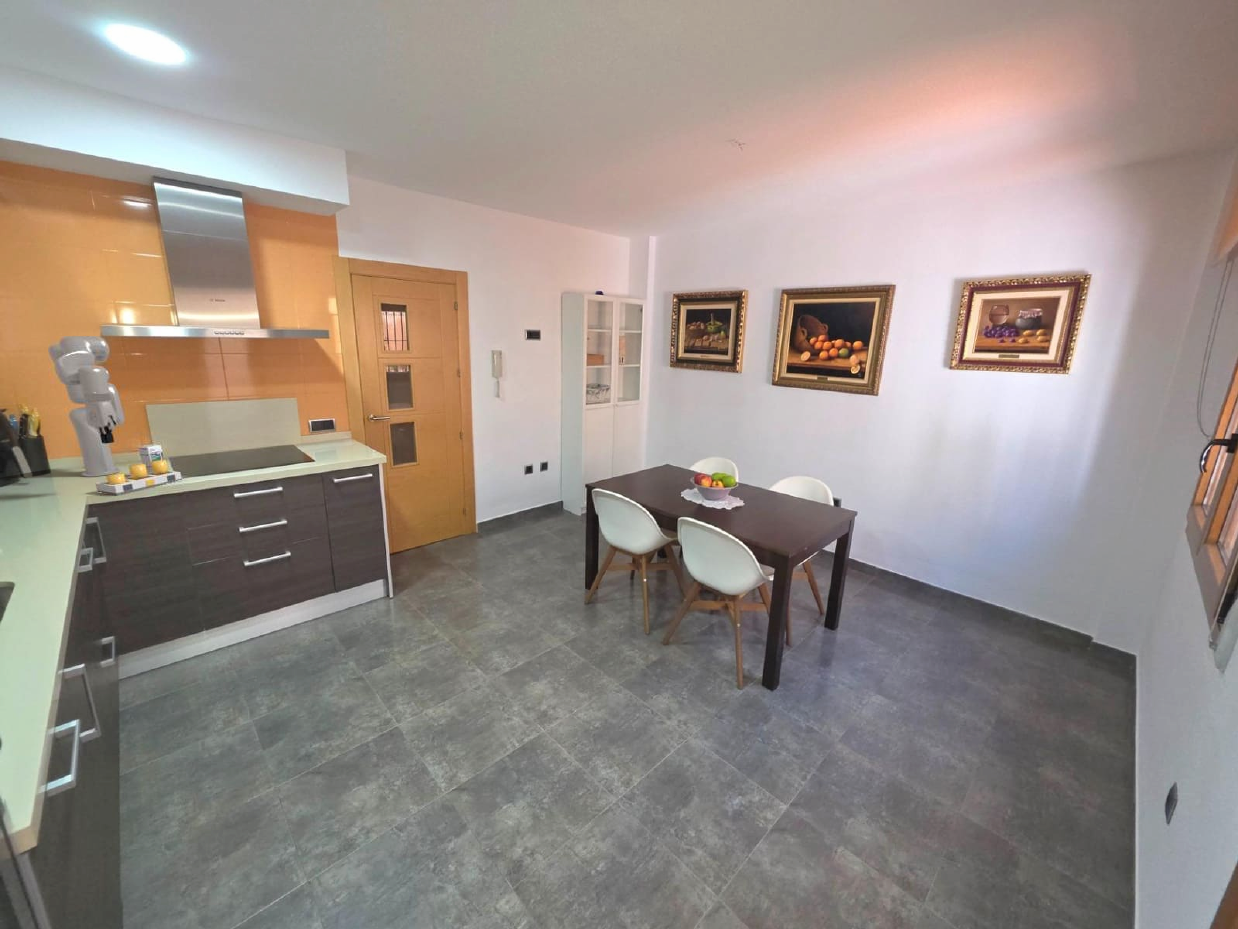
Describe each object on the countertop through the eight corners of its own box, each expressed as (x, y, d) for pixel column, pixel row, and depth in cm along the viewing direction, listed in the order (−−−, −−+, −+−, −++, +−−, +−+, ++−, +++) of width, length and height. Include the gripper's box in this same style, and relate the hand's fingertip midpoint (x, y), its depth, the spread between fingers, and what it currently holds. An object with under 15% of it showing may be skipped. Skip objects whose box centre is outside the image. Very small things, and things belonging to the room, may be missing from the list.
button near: (106, 489, 205) (103, 475, 204) (121, 486, 210) (118, 472, 209) (115, 491, 204) (111, 477, 202) (130, 487, 209) (127, 474, 207)
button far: (150, 475, 220) (147, 462, 218) (163, 472, 225) (160, 459, 223) (158, 476, 218) (155, 463, 217) (171, 473, 223) (169, 460, 222)
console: (97, 492, 205) (95, 483, 204) (163, 478, 228) (161, 469, 227) (117, 495, 202) (115, 486, 201) (182, 480, 224) (180, 472, 223)
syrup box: (154, 477, 228) (147, 447, 225) (144, 476, 229) (137, 446, 226) (167, 474, 234) (161, 444, 230) (157, 473, 235) (151, 444, 231)
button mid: (128, 479, 212) (125, 466, 211) (142, 476, 217) (139, 463, 216) (137, 480, 211) (133, 467, 209) (151, 477, 216) (148, 464, 214)
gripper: (73, 398, 197) (84, 443, 201) (98, 400, 193) (109, 446, 197) (97, 396, 204) (107, 439, 208) (121, 398, 200) (131, 442, 204)
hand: (108, 442), depth 203 cm, fingers closed
